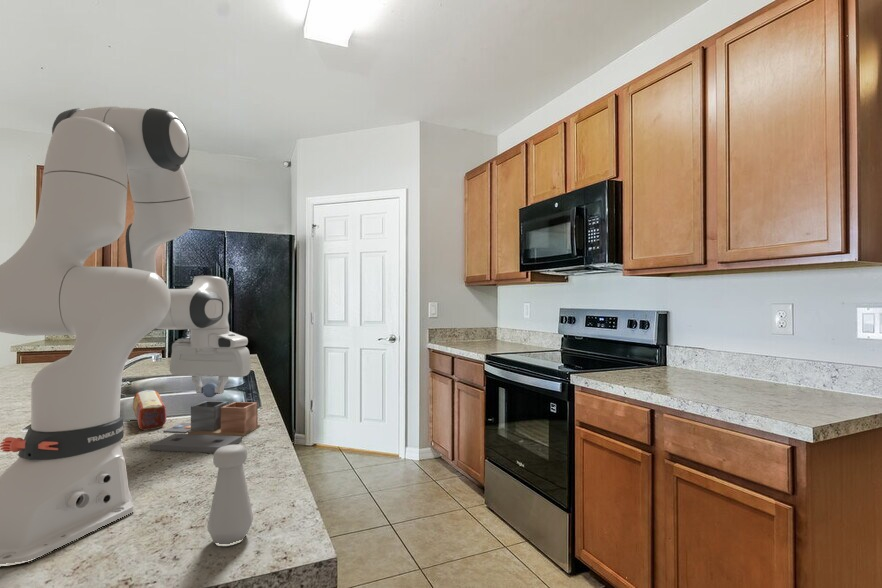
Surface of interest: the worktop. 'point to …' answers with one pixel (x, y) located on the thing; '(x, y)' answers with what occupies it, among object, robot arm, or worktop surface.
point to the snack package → (149, 410)
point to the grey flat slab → (195, 442)
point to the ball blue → (209, 390)
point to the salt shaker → (230, 497)
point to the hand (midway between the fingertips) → (210, 393)
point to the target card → (180, 428)
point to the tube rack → (224, 418)
